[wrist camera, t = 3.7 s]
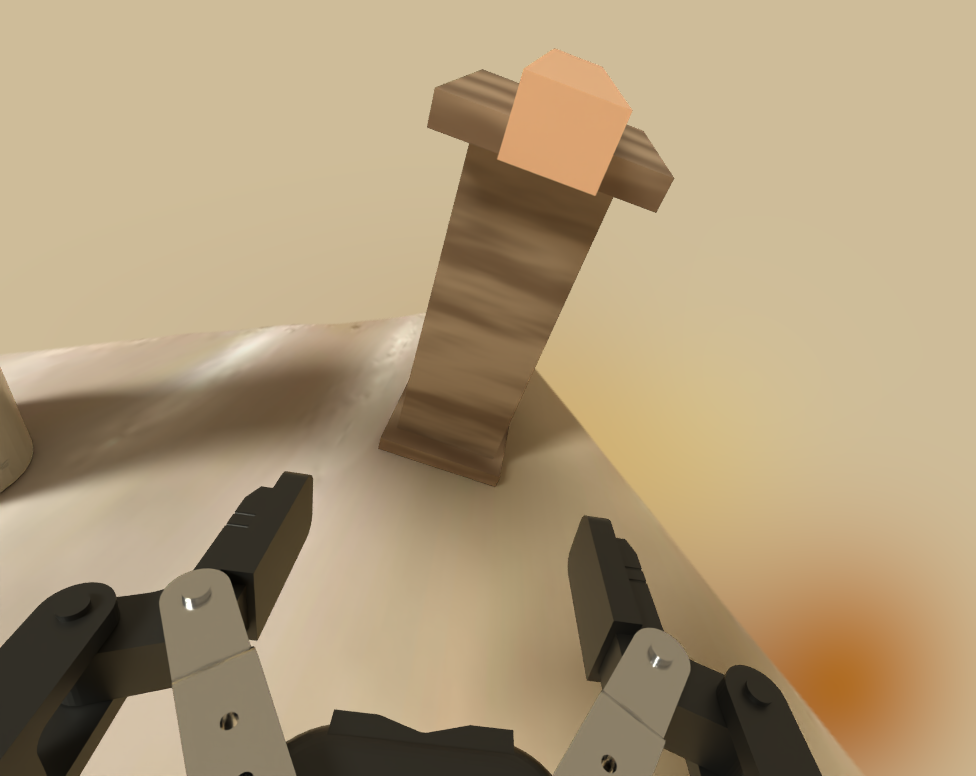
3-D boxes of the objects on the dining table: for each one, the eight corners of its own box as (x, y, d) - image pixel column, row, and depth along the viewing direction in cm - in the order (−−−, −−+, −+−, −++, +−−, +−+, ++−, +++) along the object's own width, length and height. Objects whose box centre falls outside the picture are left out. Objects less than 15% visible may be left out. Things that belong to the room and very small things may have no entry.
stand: (502, 505, 45) (674, 178, 26) (360, 460, 44) (434, 87, 26) (518, 402, 58) (643, 131, 39) (409, 365, 57) (482, 69, 38)
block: (595, 196, 18) (632, 110, 16) (496, 159, 18) (523, 68, 16) (586, 109, 39) (602, 67, 37) (540, 91, 39) (554, 48, 37)
